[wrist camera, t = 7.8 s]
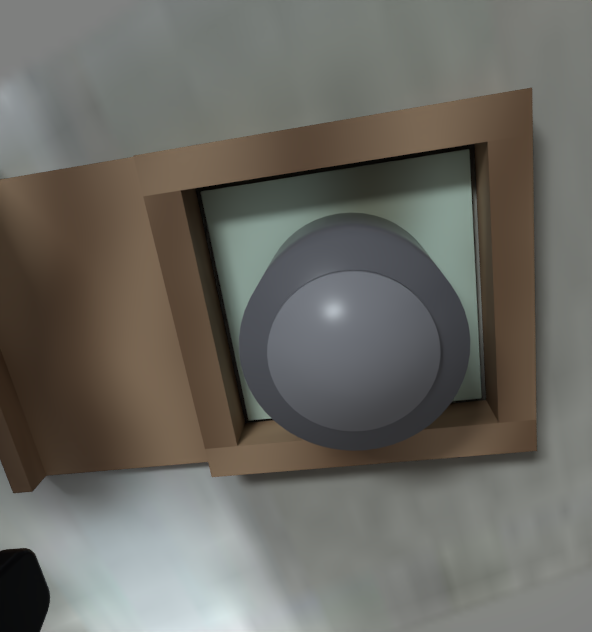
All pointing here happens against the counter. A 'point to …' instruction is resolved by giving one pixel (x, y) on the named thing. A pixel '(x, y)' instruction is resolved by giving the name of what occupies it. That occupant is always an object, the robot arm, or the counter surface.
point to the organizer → (249, 289)
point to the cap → (354, 335)
